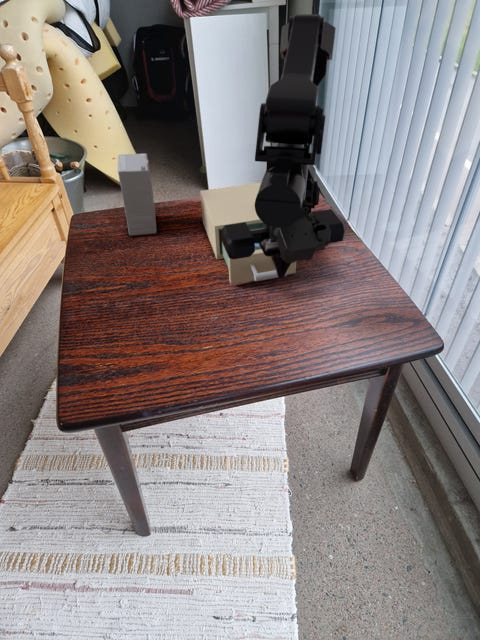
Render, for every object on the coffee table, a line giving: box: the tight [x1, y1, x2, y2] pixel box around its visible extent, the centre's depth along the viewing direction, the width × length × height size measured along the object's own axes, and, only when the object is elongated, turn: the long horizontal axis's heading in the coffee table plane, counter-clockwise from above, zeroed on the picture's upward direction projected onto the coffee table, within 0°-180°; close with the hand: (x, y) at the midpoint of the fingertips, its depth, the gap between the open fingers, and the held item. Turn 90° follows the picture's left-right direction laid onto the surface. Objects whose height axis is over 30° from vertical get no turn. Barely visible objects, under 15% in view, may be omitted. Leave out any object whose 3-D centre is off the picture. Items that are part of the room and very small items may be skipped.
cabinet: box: [199, 182, 262, 260], centre depth 93 cm, size 16×15×8 cm
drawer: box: [219, 222, 298, 285], centre depth 84 cm, size 19×13×6 cm
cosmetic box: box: [117, 153, 157, 237], centre depth 94 cm, size 8×7×16 cm
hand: (280, 276), depth 71 cm, fingers closed
